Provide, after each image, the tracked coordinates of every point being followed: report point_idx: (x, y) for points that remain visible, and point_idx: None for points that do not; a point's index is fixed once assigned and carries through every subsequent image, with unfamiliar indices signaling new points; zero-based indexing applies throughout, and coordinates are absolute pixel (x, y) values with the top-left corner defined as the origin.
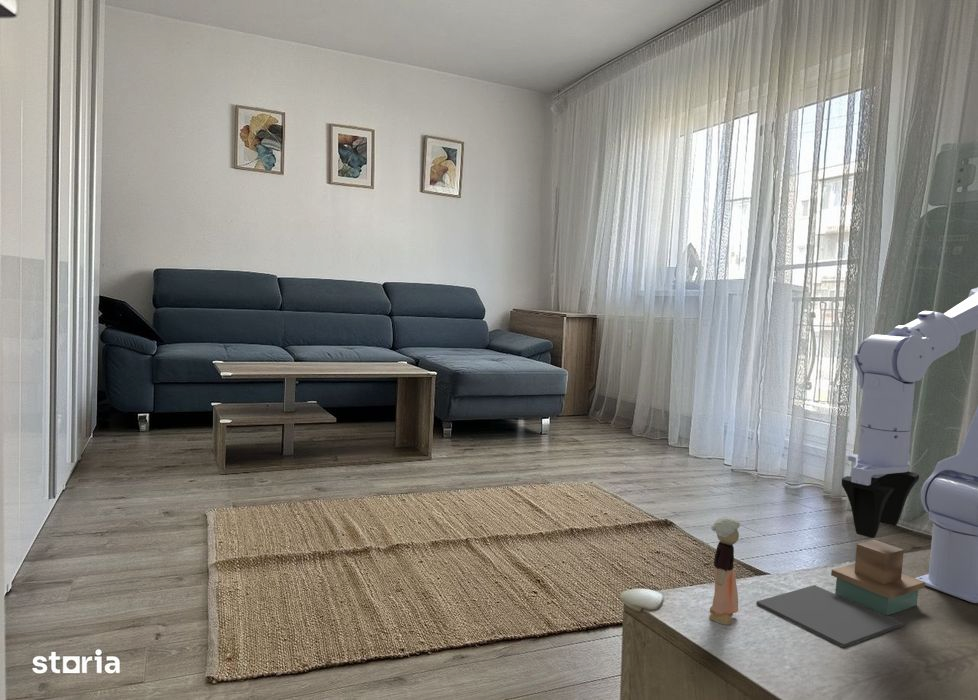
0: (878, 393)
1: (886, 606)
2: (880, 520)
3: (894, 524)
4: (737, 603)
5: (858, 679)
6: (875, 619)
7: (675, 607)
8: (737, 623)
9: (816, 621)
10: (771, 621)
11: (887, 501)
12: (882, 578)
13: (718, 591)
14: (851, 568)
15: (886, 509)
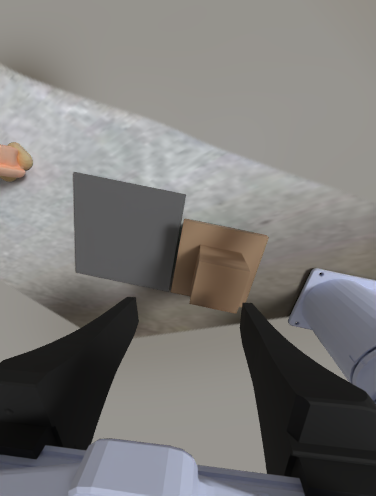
0: None
1: None
2: (243, 307)
3: (240, 328)
4: (11, 176)
5: (44, 293)
6: (152, 274)
7: None
8: (19, 184)
9: (93, 239)
10: (58, 205)
11: (255, 352)
12: (192, 281)
13: None
14: (213, 236)
15: (248, 336)
